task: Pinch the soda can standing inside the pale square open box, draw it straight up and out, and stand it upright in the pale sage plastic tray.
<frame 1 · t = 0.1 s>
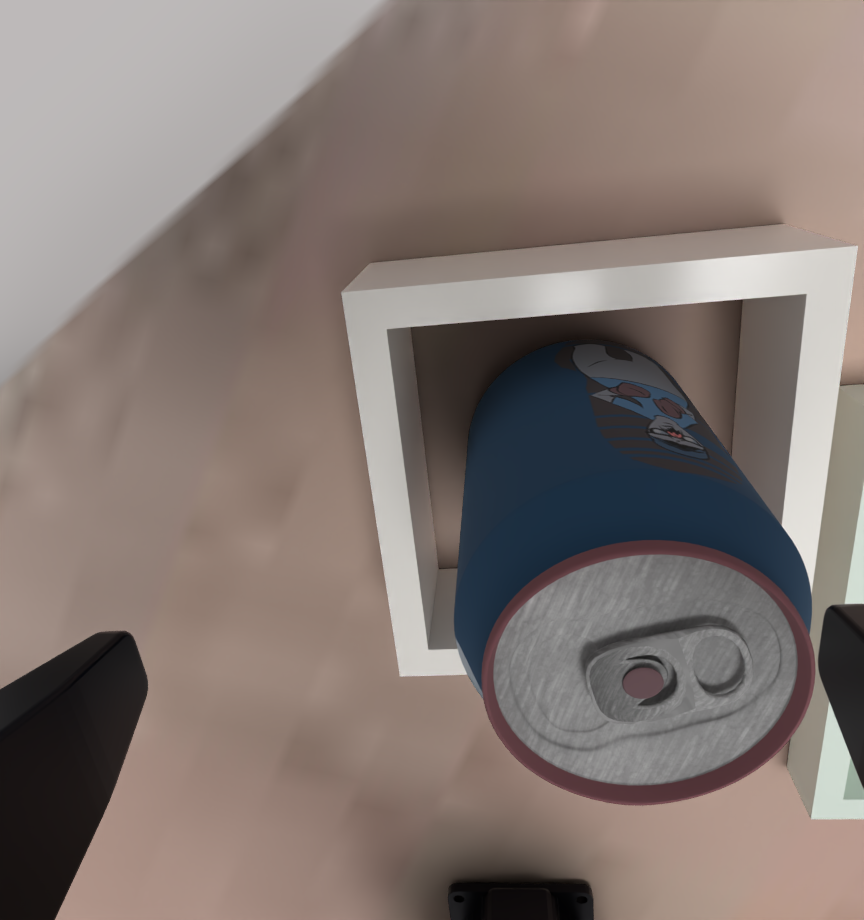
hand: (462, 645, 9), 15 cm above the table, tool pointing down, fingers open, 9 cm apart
pale square open box: (575, 432, 23), on the table
soda can: (574, 430, 24), resting in pale square open box
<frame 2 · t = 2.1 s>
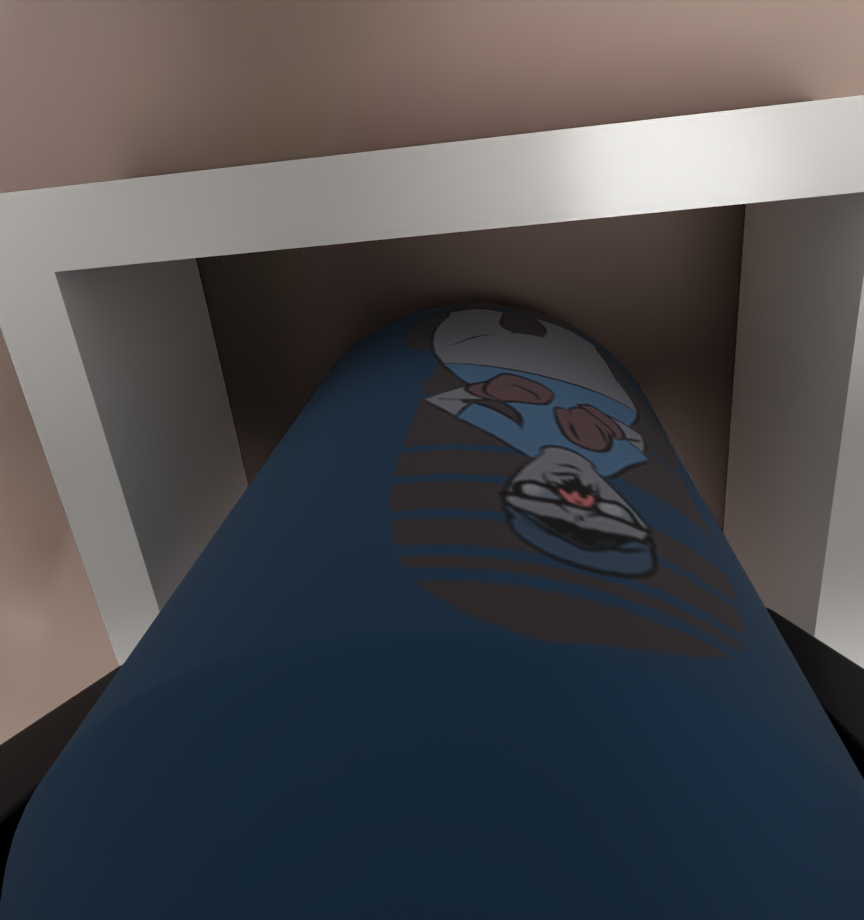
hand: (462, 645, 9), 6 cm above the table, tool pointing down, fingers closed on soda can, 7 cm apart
pale square open box: (477, 458, 15), on the table
soda can: (478, 453, 15), resting in pale square open box, touching gripper
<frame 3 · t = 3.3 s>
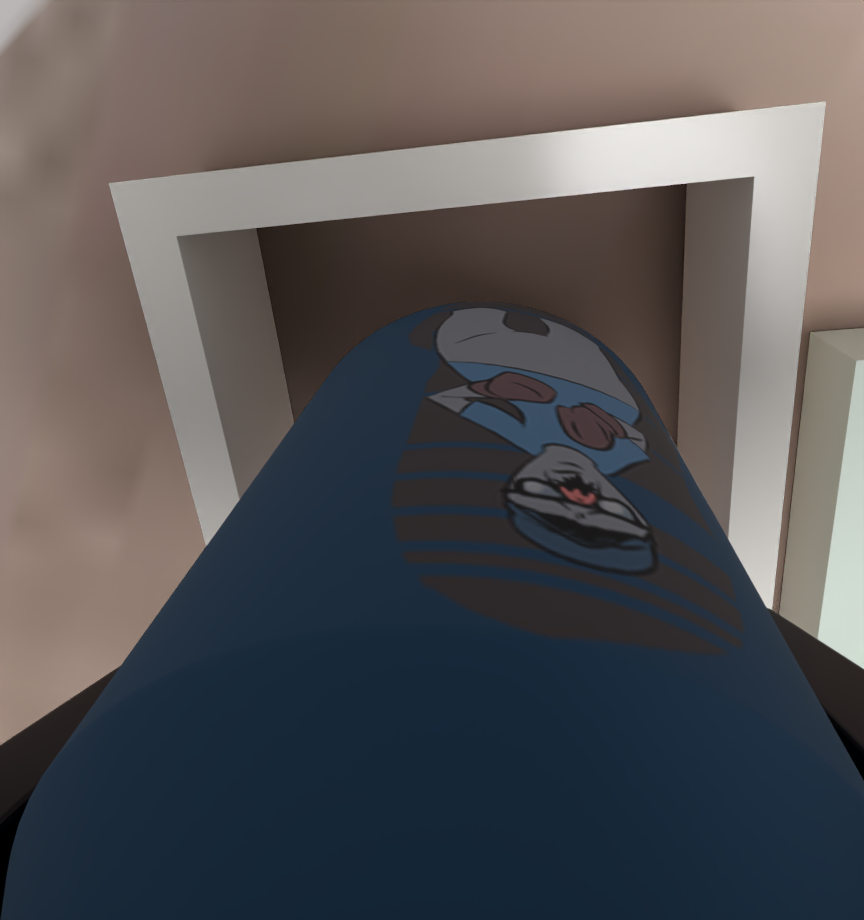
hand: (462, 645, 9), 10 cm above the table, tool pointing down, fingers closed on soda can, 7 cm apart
pale square open box: (479, 395, 18), on the table
soda can: (480, 451, 15), point 4 cm above the table, touching gripper
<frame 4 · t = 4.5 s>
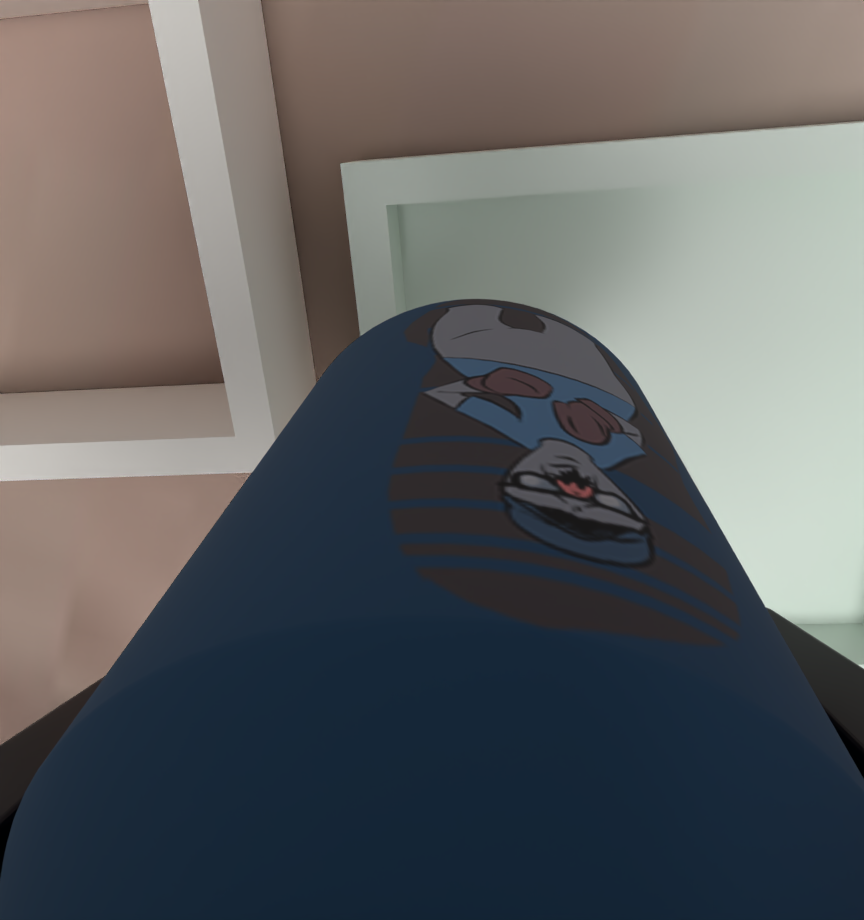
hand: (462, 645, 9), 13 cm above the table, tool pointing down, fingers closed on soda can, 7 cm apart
tray: (649, 427, 22), on the table
pale square open box: (85, 220, 20), on the table
soda can: (476, 449, 15), point 7 cm above the table, touching gripper
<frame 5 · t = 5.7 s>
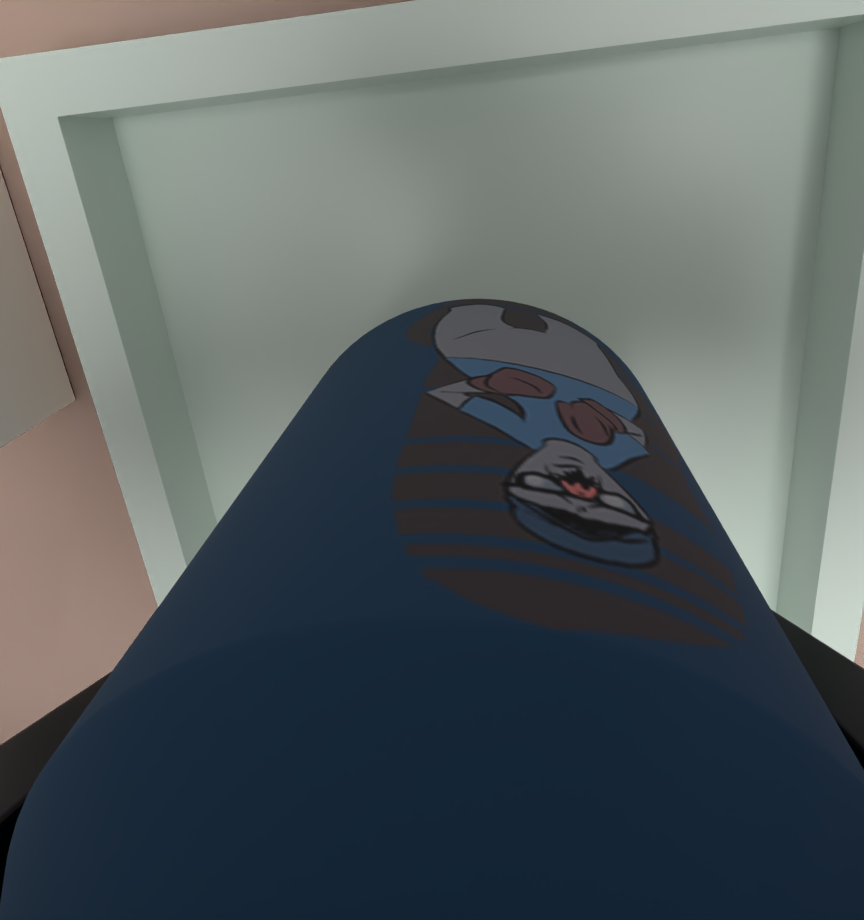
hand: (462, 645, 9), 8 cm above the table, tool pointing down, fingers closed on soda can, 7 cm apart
tray: (482, 410, 17), on the table
soda can: (478, 449, 15), point 2 cm above the table, touching gripper
when the fingers open (7 cm above the table, at t = 6.9 s): soda can stays where it is, resting on tray.
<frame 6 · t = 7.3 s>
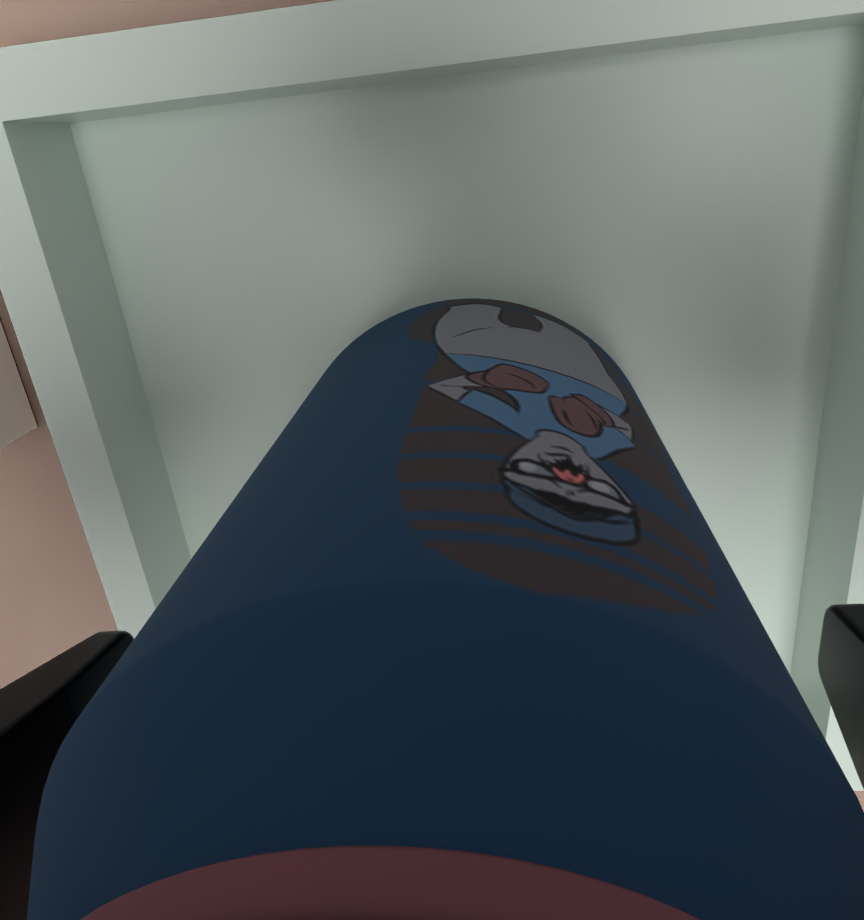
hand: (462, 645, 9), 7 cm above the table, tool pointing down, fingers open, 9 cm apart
tray: (476, 438, 16), on the table
soda can: (473, 444, 15), resting on tray
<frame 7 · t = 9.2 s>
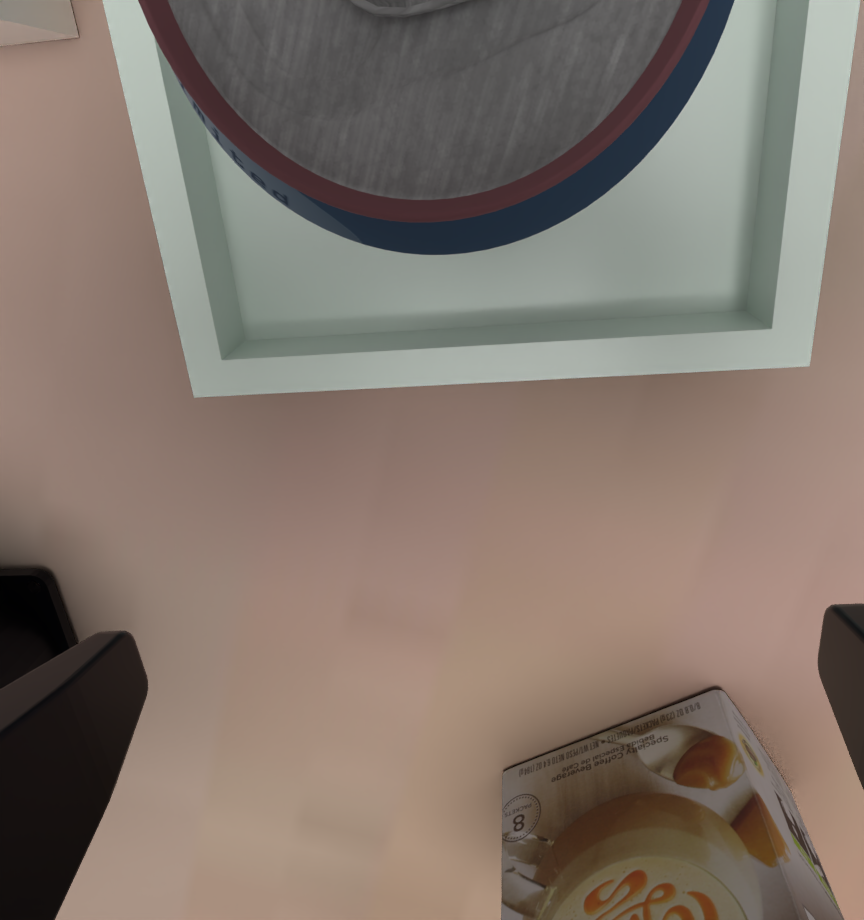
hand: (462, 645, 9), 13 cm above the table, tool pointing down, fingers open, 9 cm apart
tray: (472, 41, 18), on the table
soda can: (469, 43, 17), resting on tray
coffee box: (641, 777, 27), on the table
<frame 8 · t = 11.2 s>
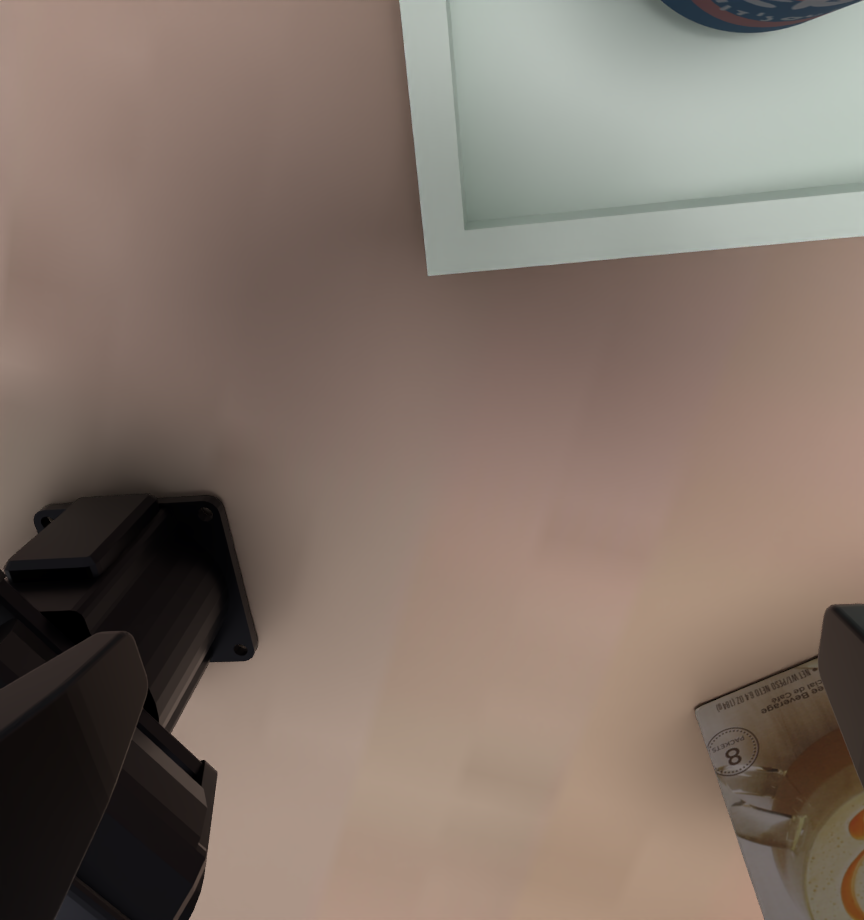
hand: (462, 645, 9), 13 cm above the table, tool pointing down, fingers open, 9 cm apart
coffee box: (843, 711, 26), on the table
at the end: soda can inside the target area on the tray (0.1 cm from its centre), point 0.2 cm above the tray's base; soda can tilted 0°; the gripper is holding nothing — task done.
